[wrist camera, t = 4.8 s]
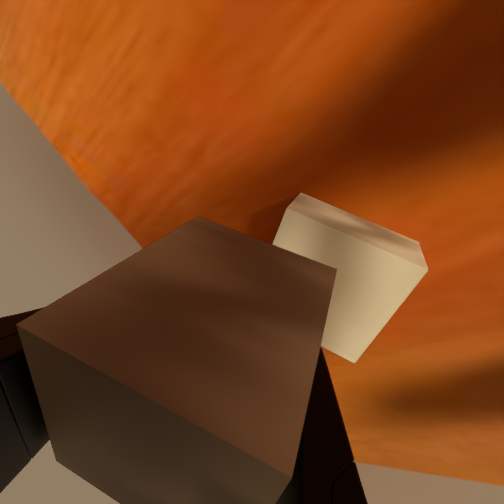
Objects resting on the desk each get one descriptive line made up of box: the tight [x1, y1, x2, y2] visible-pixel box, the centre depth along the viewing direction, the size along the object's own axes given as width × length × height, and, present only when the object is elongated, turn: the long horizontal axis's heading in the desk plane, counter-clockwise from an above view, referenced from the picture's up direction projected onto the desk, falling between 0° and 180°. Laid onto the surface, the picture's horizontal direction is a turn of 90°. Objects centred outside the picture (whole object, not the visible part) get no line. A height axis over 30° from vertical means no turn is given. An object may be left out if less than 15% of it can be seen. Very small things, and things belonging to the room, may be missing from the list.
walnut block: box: [16, 216, 337, 504], centre depth 8 cm, size 5×5×6 cm
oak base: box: [272, 193, 428, 363], centre depth 19 cm, size 8×8×4 cm
